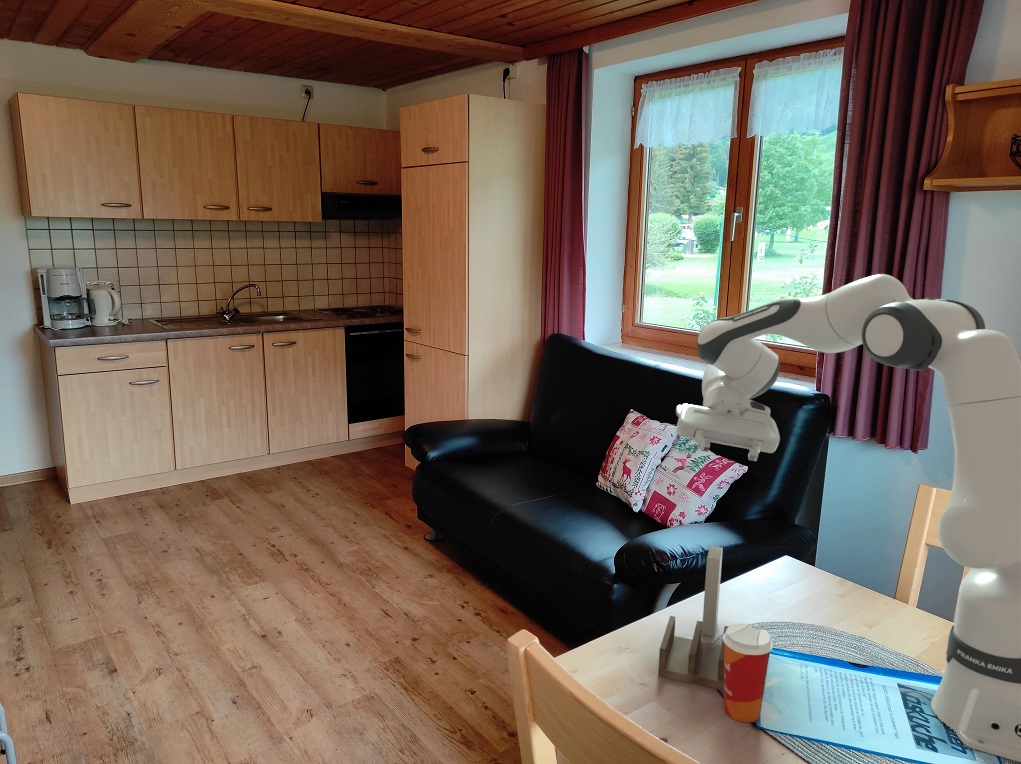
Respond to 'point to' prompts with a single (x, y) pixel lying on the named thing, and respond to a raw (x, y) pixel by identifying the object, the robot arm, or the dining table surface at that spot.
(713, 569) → the strip
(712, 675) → the rack
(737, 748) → the dining table surface
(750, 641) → the paper cup
